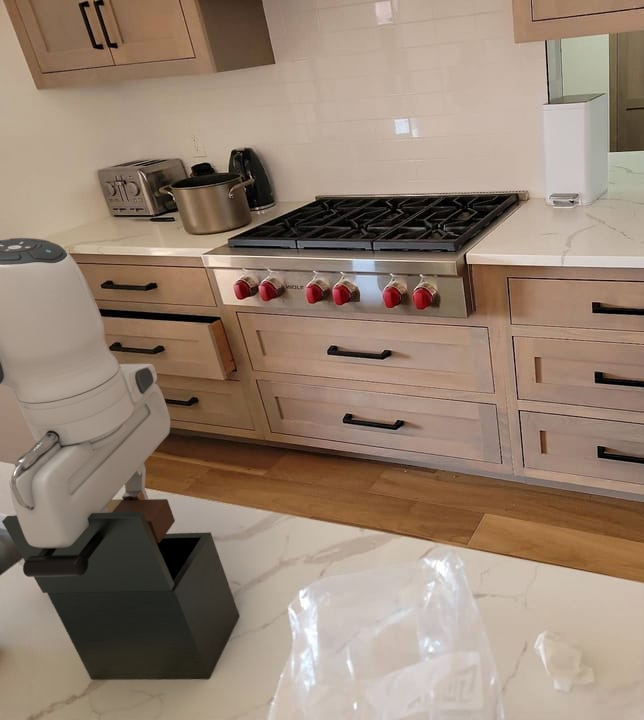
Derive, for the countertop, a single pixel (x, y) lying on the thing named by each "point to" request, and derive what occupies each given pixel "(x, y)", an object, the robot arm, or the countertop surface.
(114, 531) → the bin lid
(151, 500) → the chocolate
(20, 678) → the countertop surface
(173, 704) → the countertop surface
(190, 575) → the bin
